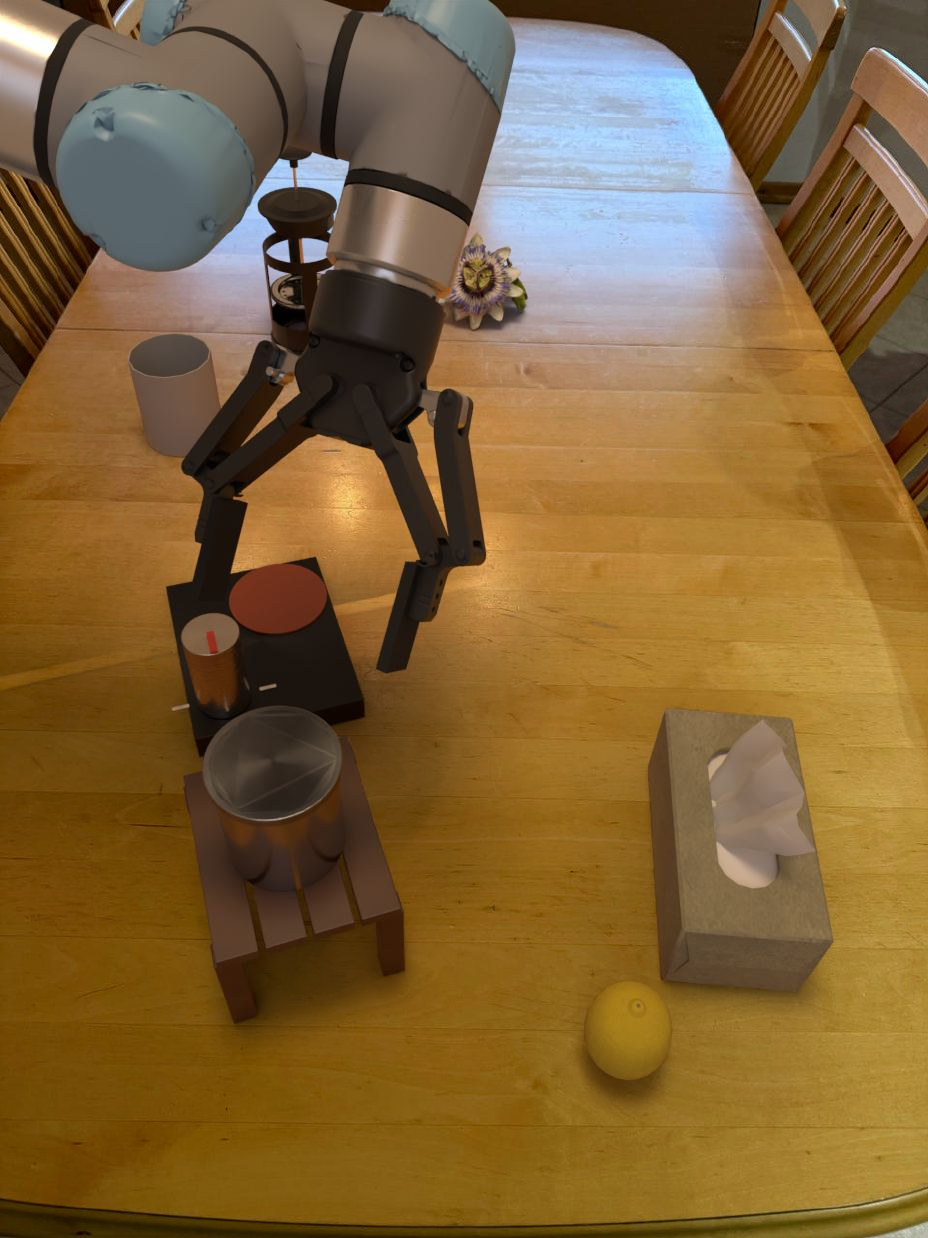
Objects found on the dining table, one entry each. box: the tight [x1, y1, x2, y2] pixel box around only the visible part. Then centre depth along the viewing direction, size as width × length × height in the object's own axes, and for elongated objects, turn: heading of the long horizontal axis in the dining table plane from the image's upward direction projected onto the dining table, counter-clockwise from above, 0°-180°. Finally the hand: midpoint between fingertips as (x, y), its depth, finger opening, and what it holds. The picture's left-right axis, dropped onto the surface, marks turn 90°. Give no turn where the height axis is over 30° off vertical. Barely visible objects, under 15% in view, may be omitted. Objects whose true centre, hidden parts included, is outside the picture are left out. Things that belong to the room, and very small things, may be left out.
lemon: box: [583, 980, 673, 1081], centre depth 63 cm, size 6×6×8 cm
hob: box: [165, 556, 366, 758], centre depth 87 cm, size 19×15×3 cm
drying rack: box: [182, 735, 406, 1024], centre depth 69 cm, size 14×12×10 cm
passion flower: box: [439, 232, 529, 331], centre depth 127 cm, size 11×11×12 cm
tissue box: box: [647, 707, 835, 993], centre depth 70 cm, size 19×10×16 cm, turn 176°
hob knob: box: [181, 613, 252, 719], centre depth 79 cm, size 4×4×8 cm
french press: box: [257, 145, 338, 356], centre depth 116 cm, size 12×9×23 cm
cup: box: [127, 332, 222, 458], centre depth 106 cm, size 8×8×10 cm
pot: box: [201, 706, 345, 892], centre depth 62 cm, size 8×8×9 cm
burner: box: [229, 563, 328, 635], centre depth 90 cm, size 9×9×1 cm
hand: (295, 633), depth 60 cm, fingers open, 13 cm apart
